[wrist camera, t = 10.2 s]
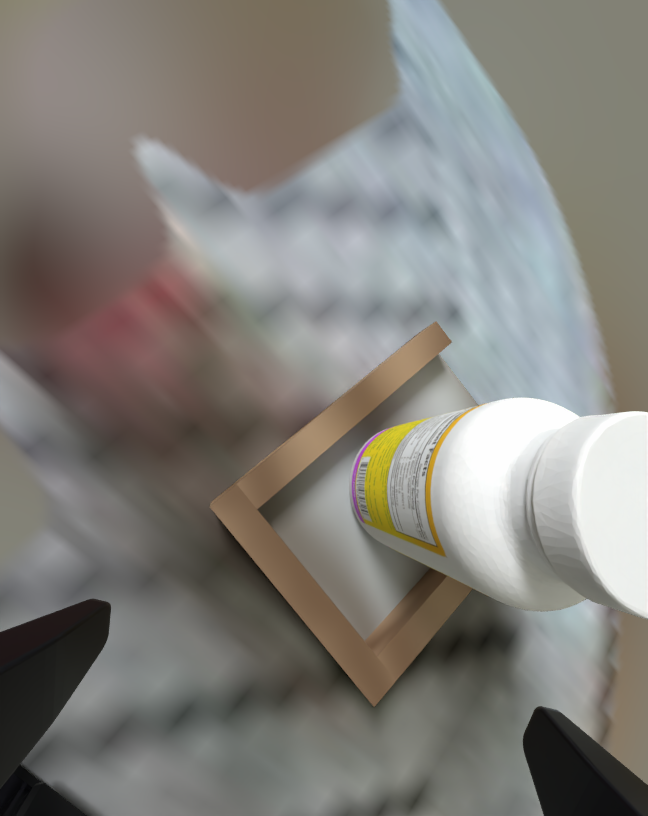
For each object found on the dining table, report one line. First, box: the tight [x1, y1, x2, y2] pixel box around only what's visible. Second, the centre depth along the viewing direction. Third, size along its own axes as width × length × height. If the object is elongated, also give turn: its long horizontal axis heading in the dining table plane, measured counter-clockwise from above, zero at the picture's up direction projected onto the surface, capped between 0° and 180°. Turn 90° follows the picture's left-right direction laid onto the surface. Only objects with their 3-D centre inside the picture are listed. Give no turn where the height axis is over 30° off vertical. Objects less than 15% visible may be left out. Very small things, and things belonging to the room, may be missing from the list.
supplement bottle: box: [349, 398, 648, 619], centre depth 14 cm, size 7×7×13 cm
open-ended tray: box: [210, 322, 479, 707], centre depth 20 cm, size 16×12×2 cm
